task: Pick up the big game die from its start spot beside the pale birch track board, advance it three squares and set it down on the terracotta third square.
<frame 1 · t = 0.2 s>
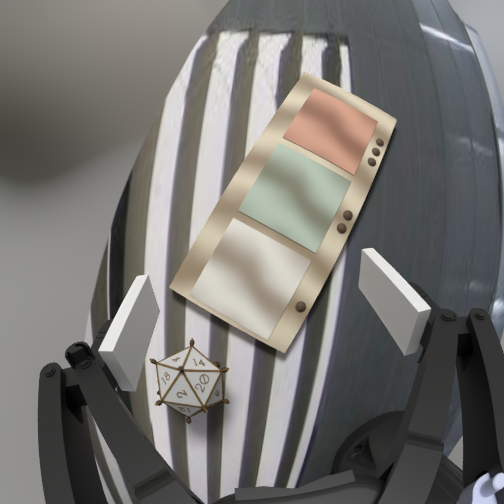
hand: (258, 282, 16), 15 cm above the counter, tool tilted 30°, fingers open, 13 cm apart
game die: (197, 371, 31), on the counter
track board: (295, 197, 33), on the counter
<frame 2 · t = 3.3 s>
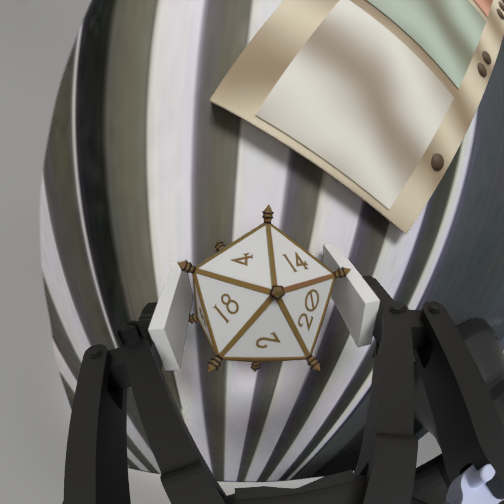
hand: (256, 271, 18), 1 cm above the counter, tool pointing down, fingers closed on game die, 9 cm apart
game die: (255, 263, 19), on the counter, touching gripper
track board: (423, 6, 11), on the counter
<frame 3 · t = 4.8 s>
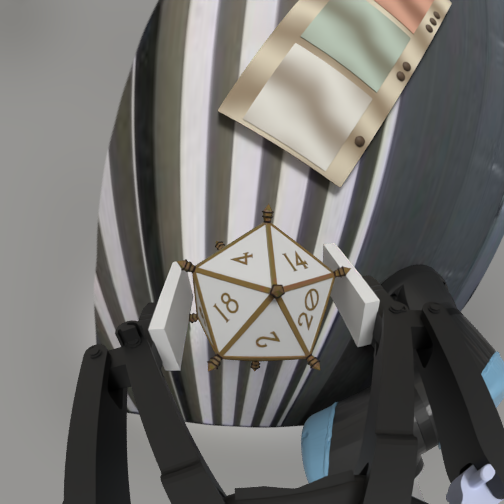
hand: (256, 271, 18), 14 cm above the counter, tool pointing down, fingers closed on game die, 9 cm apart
game die: (255, 263, 19), point 13 cm above the counter, touching gripper
track board: (356, 37, 22), on the counter
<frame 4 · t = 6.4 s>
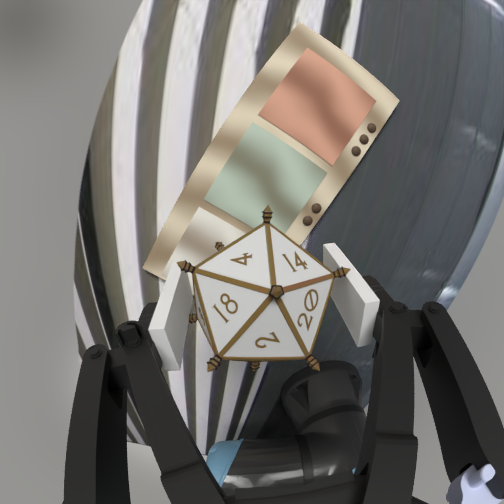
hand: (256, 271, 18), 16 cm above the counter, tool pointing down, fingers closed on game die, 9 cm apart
game die: (254, 263, 19), point 15 cm above the counter, touching gripper
track board: (265, 182, 31), on the counter
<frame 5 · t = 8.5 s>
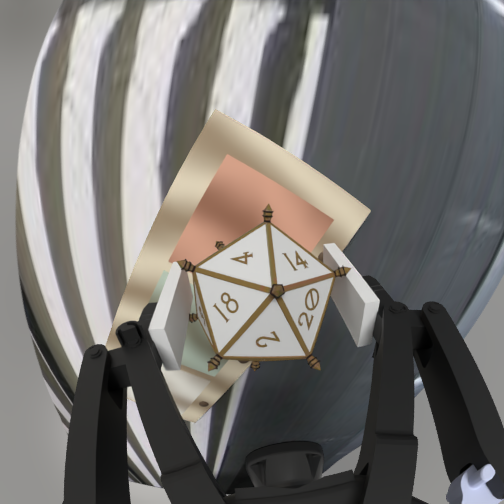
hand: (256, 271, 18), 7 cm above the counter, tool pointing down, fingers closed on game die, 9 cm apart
game die: (255, 262, 19), point 5 cm above the counter, touching gripper
track board: (192, 323, 27), on the counter
when the fingers open (3 cm above the counter, at t = 10.0 s): game die stays where it is, resting on track board.
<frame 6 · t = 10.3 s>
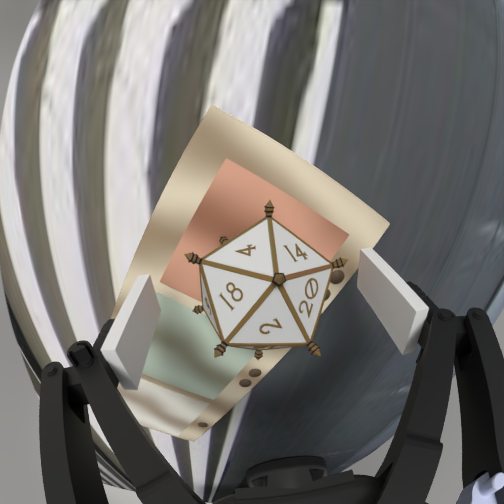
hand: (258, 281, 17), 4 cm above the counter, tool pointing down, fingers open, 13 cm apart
game die: (257, 256, 20), point 1 cm above the counter, touching track board
track board: (189, 346, 24), on the counter
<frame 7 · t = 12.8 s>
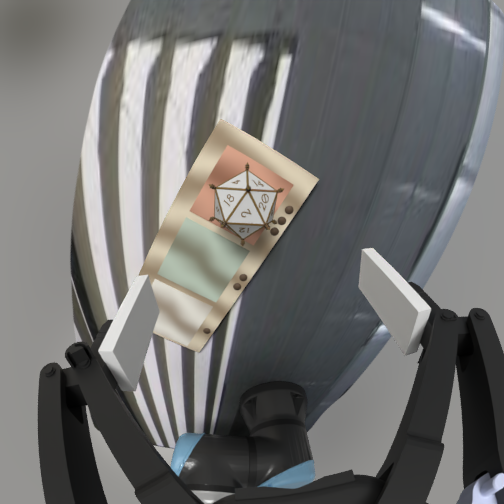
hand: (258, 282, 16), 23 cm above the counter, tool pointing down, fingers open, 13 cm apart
game die: (243, 196, 36), point 1 cm above the counter, touching track board
track board: (202, 259, 41), on the counter
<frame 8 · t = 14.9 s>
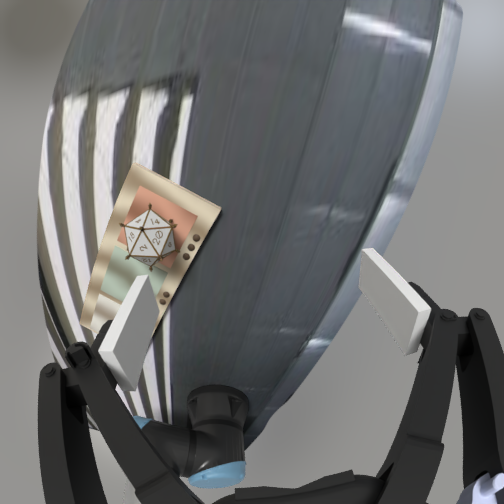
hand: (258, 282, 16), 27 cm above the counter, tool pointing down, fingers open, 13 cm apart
game die: (157, 227, 41), point 1 cm above the counter, touching track board
track board: (133, 278, 46), on the counter
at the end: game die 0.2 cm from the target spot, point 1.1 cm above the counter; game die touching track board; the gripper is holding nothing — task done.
